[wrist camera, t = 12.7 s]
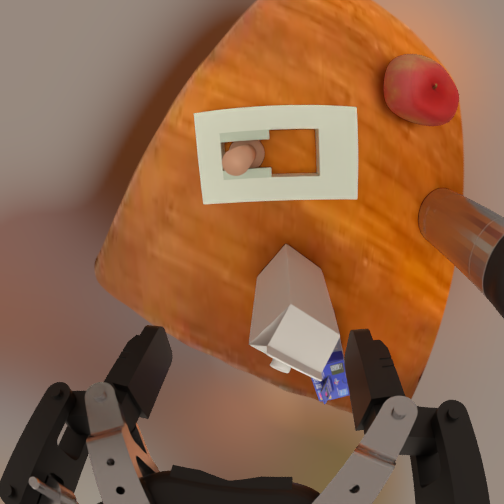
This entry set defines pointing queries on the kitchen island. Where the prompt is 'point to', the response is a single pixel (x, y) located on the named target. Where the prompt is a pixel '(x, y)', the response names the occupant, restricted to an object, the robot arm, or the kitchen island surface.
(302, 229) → the kitchen island surface
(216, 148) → the keyhole board
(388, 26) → the kitchen island surface
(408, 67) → the apple
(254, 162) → the headed peg
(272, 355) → the milk carton
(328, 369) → the ink cartridge box
